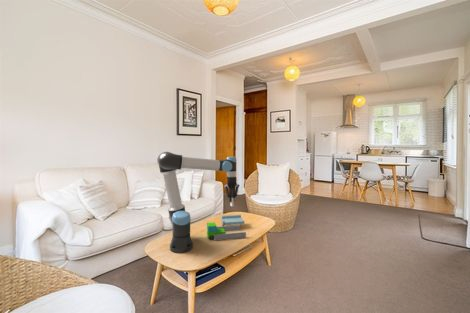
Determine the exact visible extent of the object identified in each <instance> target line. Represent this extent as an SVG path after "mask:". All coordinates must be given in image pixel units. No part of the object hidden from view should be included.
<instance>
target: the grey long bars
mask: <svg viewBox="0 0 470 313" xmlns="http://www.w3.org/2000/svg"><path fill="white" fill-rule="evenodd" d="M241 225H242V224H233V225H225V226H222V225H221V226H217V228H223V229H224V230H225V232H226V233H224V234H214V238H213V241H221V240H224V241H225V240H236V239H245V238H247V232H246V231H242V228H241V227H242V226H241ZM236 231H237V232H236ZM238 231H240V232H238ZM227 232H228V233H227Z"/></svg>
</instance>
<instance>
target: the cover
mask: <svg viewBox="0 0 470 313" xmlns="http://www.w3.org/2000/svg"><path fill="white" fill-rule="evenodd" d="M220 222H221V226H233V225H242V224H245V220H244V219H243V218H242V215H241V214H232V215H231V214H229V215H226V214H225V215H221V217H220Z"/></svg>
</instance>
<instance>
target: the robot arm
mask: <svg viewBox="0 0 470 313" xmlns="http://www.w3.org/2000/svg"><path fill="white" fill-rule="evenodd" d="M157 164H158V168H159V171H160V174H162V176H163V179H164V185H165V191H166V194H167V200H168V204H169V205H168V206H169V207H168V210H167V211H168V219H169V221H170V224H171V227H172V228H171V230H172V238H171V241H170V244H169V251H171V252H173V253H177V254H178V253H186V252H190V251H191V250H192V249H193V247H194V242H193V239H192V237H191V220H192V218H191V214H190V212H189V211H186V207H185V204H183V202H182V198H181V192H180V187H179V182H178V178H177V173H176V171H178V170H182V169H187V170H188V169H190V170H200V171H202V170H203V171H204V170H205V171H214V172H216V171H218V172H224V173H225V172H226V184H225V185H223V187H224V189H225V193H226V197H227V198H229V200H228V201H229V204H230V207H234V206H235V204H234V203H235V198H237V196H238V192H239V188H240V184H238V182H237V181H238V180H237V157H236V156H227V157H226V159H210V158H209V159H208V158H199V157H188V156H183V155H182V154H176V153H172V152H170V151H163V152H161V153H160V154H158V156H157Z"/></svg>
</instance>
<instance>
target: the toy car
mask: <svg viewBox="0 0 470 313" xmlns="http://www.w3.org/2000/svg"><path fill="white" fill-rule="evenodd" d="M217 227H218V226H217V223H216V222H215V221H214V222H213V221H211V222H206V236H207V239H209V240H214V234H224V233H227V231H225V230H224V229H223V228H217Z"/></svg>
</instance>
